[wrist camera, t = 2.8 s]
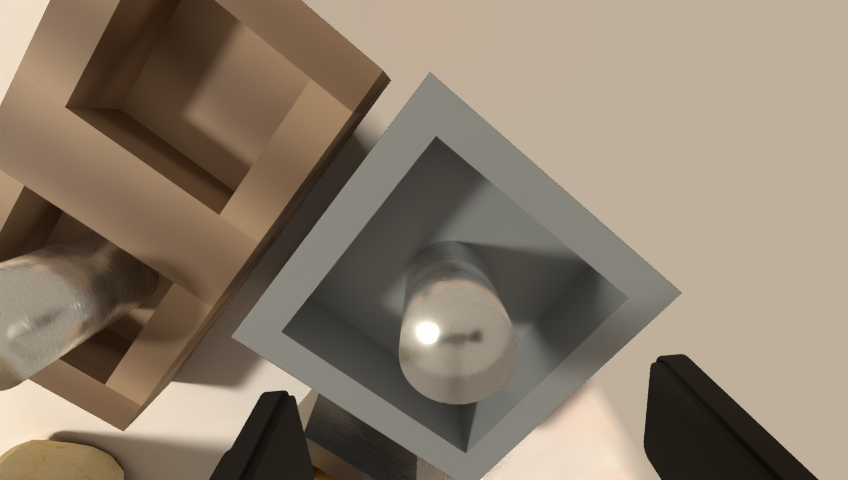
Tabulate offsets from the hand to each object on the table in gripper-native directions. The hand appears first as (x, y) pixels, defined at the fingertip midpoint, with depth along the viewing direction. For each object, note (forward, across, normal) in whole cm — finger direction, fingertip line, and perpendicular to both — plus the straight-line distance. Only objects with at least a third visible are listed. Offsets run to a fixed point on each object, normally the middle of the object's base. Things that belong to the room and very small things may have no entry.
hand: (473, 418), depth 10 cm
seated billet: (+11, +17, -2) cm, 21 cm away
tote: (+12, 0, +1) cm, 12 cm away
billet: (+11, 0, +1) cm, 11 cm away
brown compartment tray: (+12, +14, -5) cm, 19 cm away
